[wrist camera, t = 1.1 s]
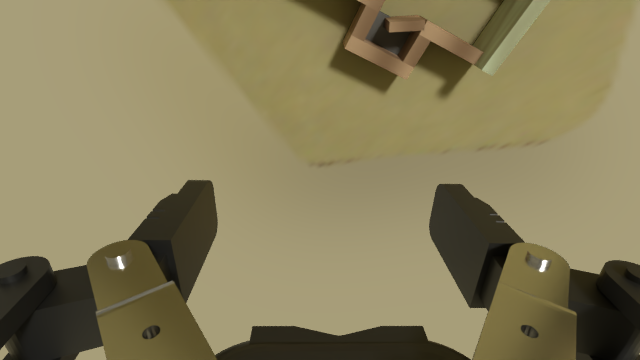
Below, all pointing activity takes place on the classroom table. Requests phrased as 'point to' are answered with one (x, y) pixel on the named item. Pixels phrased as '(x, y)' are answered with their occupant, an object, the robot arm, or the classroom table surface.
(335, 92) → the classroom table surface
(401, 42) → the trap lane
